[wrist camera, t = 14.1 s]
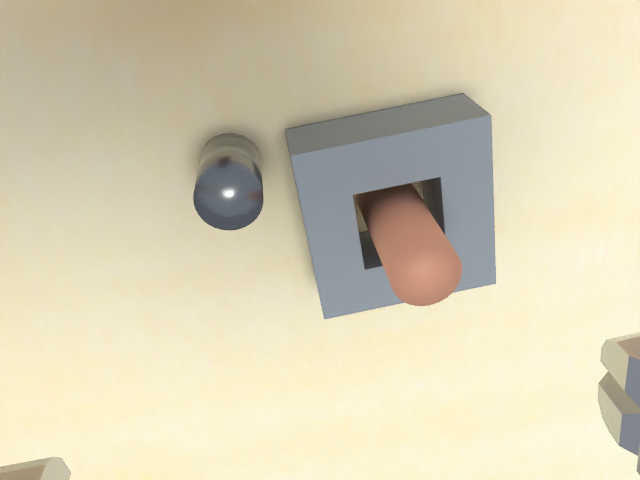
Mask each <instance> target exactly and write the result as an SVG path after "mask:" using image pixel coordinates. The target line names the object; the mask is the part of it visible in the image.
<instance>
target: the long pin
mask: <svg viewBox="0 0 640 480" xmlns="http://www.w3.org/2000/svg"><path fill="white" fill-rule="evenodd" d="M356 198H357V203H358V206H359V208H360V211H361V213H362V215H363V218H364V220H365V223H366V225H367V228H368V230H369V233H370V235H371V238H372V240H373V243H374V245H375V248H376V250H377V252H378V255H379V257H380V260H381V262H382V265H383V267H384V270H385V272H386V275H387V277H388V280H389V282H390V284H391V287H392V289H393V291H394V293H395V295H396V296H397V297H398V298H399V299H400V300H402V301H403V302H405V303H408V304H411V305H415V306H426V305H431V304H435V303H437V302H440V301H442V300H443V299H445V298H446V297H448V296H449V295H450V294H451V293H452V292H453V291H454V290H455V289H456V287H457V286H458V284H459V282H460V280H461V276H462V263H461V260H460V258H459V256H458V255H457V253H456V252H455V250H454V248H453V247H452V245H451V244H450V242H449V241H448V239H447V238H446V236H445V234H444V233H443V231H442V230H441V228H440V227H439V225H438V224H437V222H436V220H435V219H434V217H433V216H432V214H431V213H430V211H429V210H428V208H427V206H426V205H425V203H424V202H423V200H422V199H421V197H420V196H419V194H418V192H417V191H416V189H415V188H414V186H413V185H412V183H408V184H403V185H398V186H393V187H388V188H384V189H379V190H374V191H369V192H364V193H359V194H356Z"/></svg>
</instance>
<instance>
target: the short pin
mask: <svg viewBox="0 0 640 480" xmlns="http://www.w3.org/2000/svg"><path fill="white" fill-rule="evenodd" d="M193 199H194V206H195V209H196V211H197V213H198V214H199V216H200V217H201V218H202V219H203V220H204V221H205V222H206V223H207V224H209V225H211V226H213V227H215V228H218V229H222V230H237V229H241V228H243V227H246V226H247V225H249V224H251V223H252V222H253V221H254V220H255V219H256V218H257V217H258V215H259V214H260V212H261V209H262V206H263V186H262V171H261V159H260V154H259V152H258V150H257V148H256V146H255V145H254V144H253V143H252V142H251V141H250V140H248V139H247V138H245V137H243V136H241V135H237V134H222V135H219V136H216V137H214V138H213V139H211V140H210V141H209V142H208V143H207V144H206V145H205V147H204V148H203V150H202V153H201V157H200V163H199V168H198V174H197V179H196V184H195V190H194V198H193Z"/></svg>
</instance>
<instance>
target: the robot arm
mask: <svg viewBox="0 0 640 480" xmlns="http://www.w3.org/2000/svg"><path fill="white" fill-rule="evenodd" d="M600 361H601V362H602V364H603V365H604V366H605V367H606V369H607V370H608V372H607V374H606V375H605V376H604V377H603V379H602V380H601V381H600V382H599V385H598V402H599V406H600V410H601V414H602V418H603V420H604V422H605V424H606V426H607V428H608V430H609V432H610V434H611V435H612V436H613V438H614V439H615V441H616V442H617V444H618V445H619V446H620V447H622V448H624V449H626V450H628V451H630V452H632V453H634V454H636V455H638V463H637V472H638V473H639V475H640V333H635V334H630V335H626V336H621V337H617V338H612V339H608V340H606V341H605V343H604V344H603V346H602V349H601V360H600ZM70 475H71V472H70V470H69V469H68V467H67V466H66V464H65V462H64V461H63V459H62V458H58V457H51V458H45V459H40V460H34V461H29V462H24V463H18V464H13V465H8V466H2V467H0V480H69V478H70Z"/></svg>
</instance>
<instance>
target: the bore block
mask: <svg viewBox="0 0 640 480" xmlns="http://www.w3.org/2000/svg"><path fill="white" fill-rule="evenodd" d="M285 132H286V137H287V142H288V147H289V152H290V157H291V162H292V167H293V172H294V177H295V181H296V186H297V191H298V196H299V201H300V205H301V210H302V215H303V220H304V224H305V229H306V234H307V239H308V244H309V248H310V253H311V258H312V263H313V268H314V272H315V277H316V282H317V287H318V292H319V296H320V301H321V306H322V311H323V316H324V319H328V318H333V317H338V316H343V315H347V314H352V313H357V312H362V311H367V310H371V309H376V308H381V307H386V306H391V305H395V304H400V303H405V302H403V301H402V300H400V299H399V298H398V297H397V296H396V295H395V293H394V291H393V289H392V287H391V284H390V282H389V280H388V277H387V275H386V272H385V270H384V267H383V265H382V262H381V260H380V257H379V255H378V252H377V250H376V248H375V245H374V243H373V240H372V238H371V235H370V233H369V231H366V232H362V233H359V231H358V225H357V218H356V212H355V206H354V199H353V195H354V194H359V193H364V192H369V191H374V190H379V189H384V188H388V187H393V186H398V185H403V184H408V183H413V182H418V181H423V191H424V202H425V205H426V206H427V208H428V210H429V211H430V213H431V214H432V216H433V217H434V219H435V220H436V222H437V224H438V225H439V227H440V228H441V230H442V231H443V233H444V234H445V236H446V238H447V239H448V241H449V242H450V244H451V245H452V247H453V248H454V250H455V252H456V253H457V255H458V256H459V258H460V260H461V263H462V276H461V280H460V282H459V284H458V286H457V287H456V289H455V290H454V291H453V292H458V291H463V290H467V289H472V288H477V287H482V286H487V285H491V284H496V267H495V232H494V197H493V162H492V127H491V115H490V114H489V113H488V112H487V111H485V110H484V109H483V108H481V107H480V106H479V105H478V104H476V103H475V102H474V101H473V100H471V99H470V98H469V97H468V96H466V95H465V94H464V93H462V94H457V95H452V96H447V97H442V98H438V99H433V100H428V101H423V102H418V103H413V104H408V105H403V106H398V107H393V108H388V109H383V110H378V111H373V112H369V113H364V114H359V115H354V116H349V117H344V118H339V119H334V120H329V121H324V122H319V123H314V124H309V125H304V126H300V127H295V128H290V129H285ZM453 292H452V293H453Z"/></svg>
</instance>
